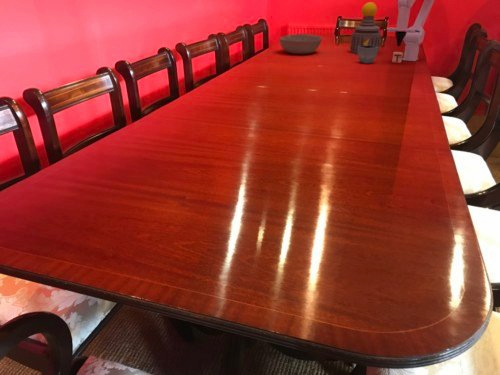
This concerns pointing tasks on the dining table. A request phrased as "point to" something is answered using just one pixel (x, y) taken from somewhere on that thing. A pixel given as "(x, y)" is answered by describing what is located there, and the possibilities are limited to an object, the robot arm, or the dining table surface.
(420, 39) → the robot arm
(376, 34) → the decorative lamp
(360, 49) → the flower pot
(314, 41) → the bowl
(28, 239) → the dining table surface
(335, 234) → the dining table surface
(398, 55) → the letter cube
